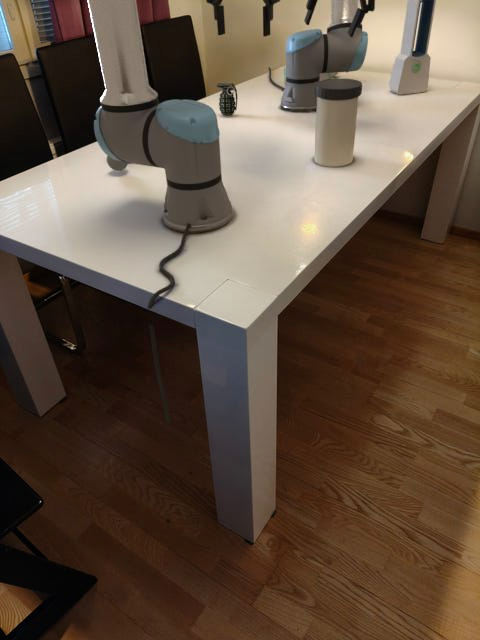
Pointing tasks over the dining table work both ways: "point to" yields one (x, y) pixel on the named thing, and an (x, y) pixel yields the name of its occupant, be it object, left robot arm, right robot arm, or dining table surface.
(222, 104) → the grenade
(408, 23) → the electronic device
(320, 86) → the lid
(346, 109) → the jar
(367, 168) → the dining table surface
